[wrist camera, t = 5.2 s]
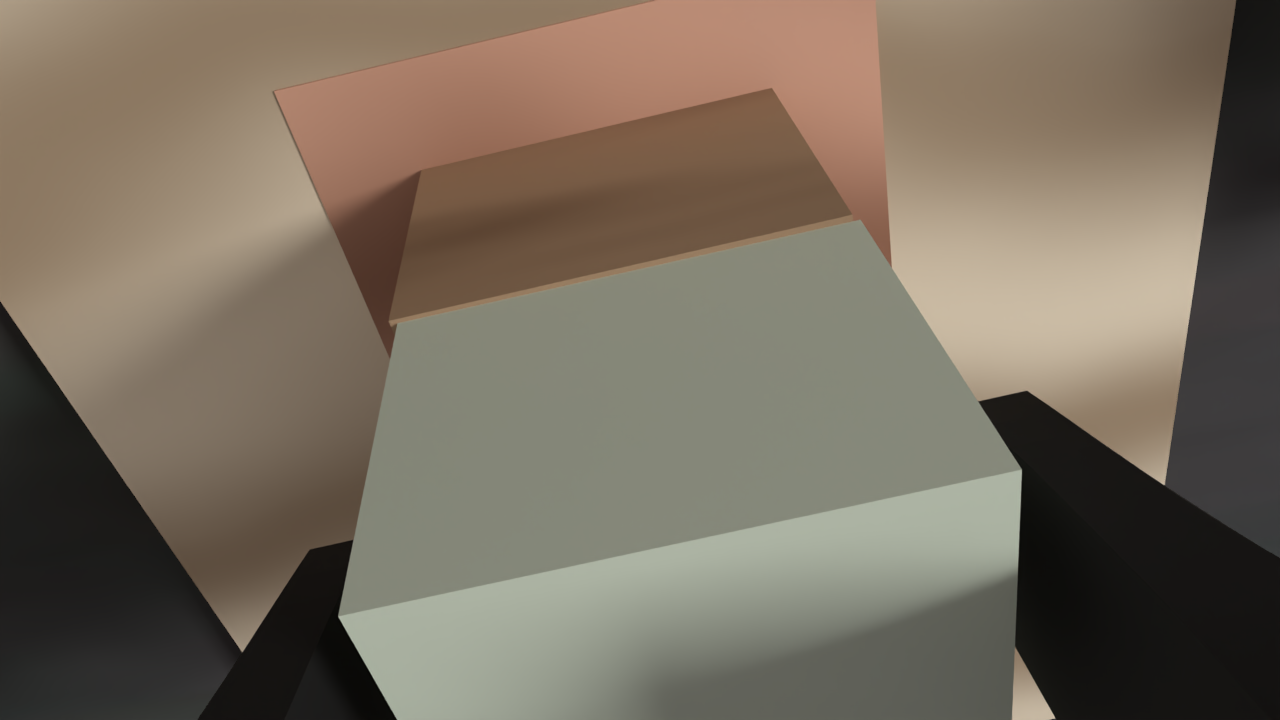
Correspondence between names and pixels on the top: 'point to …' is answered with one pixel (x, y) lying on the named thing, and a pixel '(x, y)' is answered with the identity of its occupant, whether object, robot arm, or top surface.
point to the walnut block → (610, 204)
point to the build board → (535, 112)
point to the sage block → (689, 503)
